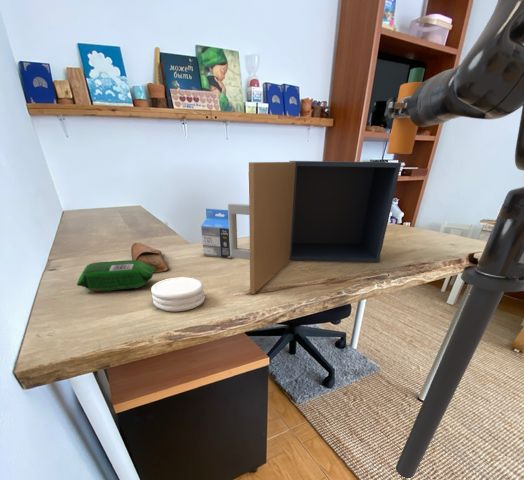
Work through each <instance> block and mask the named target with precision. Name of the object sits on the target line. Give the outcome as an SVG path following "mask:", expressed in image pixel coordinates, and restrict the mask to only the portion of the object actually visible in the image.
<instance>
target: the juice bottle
mask: <svg viewBox="0 0 524 480" xmlns="http://www.w3.org/2000/svg"><path fill="white" fill-rule="evenodd" d="M425 70H426V69H425V68H424V67H414V68H411V69H410V71H409V76H408V80H407V82H406V83H405V82H404V83H403V84H401V85H400V86H399V91H398V95H397V96H398V97H397V99H398V102H399V101H401V99H402V98H404V97H409V96H412V95H413V93H414V92H415V90H416V89H417V88H418V86H419V85H421V84H422V83H423V82H424V81H423V79H424V74H425ZM398 112H399V109H398ZM405 114H406V113H405ZM418 129H419V126H417V125H415V124H414V123H413V122H412V120H411V118H398V116H397V117H394V118H393V120H392V126H391V131H390V136H389V139H388V140H389V141H388V145H387V149H386V150H387V151H386V154H389V155H390V154H391V155H412V153H413V150H414V149H413V148H414V146H415V141H416V137H417V131H418Z"/></svg>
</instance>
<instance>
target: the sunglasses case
mask: <svg viewBox="0 0 524 480" xmlns="http://www.w3.org/2000/svg"><path fill="white" fill-rule="evenodd" d="M130 253H131V260H137V261H142V262H144V263H146V264H148V265H150V266H154V267H155V268H156V269H158V270H154V271H153V272H152V274H157V273H162V272H166V271H169V268H168V267H169V266H168V265H167V263H166V262H165V260H164V257H163V255H162V251H161V250H159V249H156V248H154V247H150V246H148V245H146V244H143V243H140V242H133V243H132V245H131V248H130Z"/></svg>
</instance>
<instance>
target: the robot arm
mask: <svg viewBox="0 0 524 480" xmlns="http://www.w3.org/2000/svg"><path fill="white" fill-rule="evenodd" d="M422 82H423V83H422V84H421V85H419V86H418V88H417V89H416V90H415V92H414V93H413V95H412V96H409V97H404V98H402V99H401V101H399V102H398V97H396V96H392V97H390V98H389V99H388V100H387V101H386V104H385V105H386V106H385V110H384V115H383V117H385V118H388V119H394V117H397V116H398V118H411V120H412V122H413V123H414V124H415V125H417V126H418V128H427V127H431V126H436V125H441V124H444V123H447V122H449V121H451V120H455V119H458V118H469V119H476V120H477V119H478V120H488V121H489V120H498V119H502V118H504V117H507V116H509V115H511V114H513V113H514V112H517V110H519V109H520V108H521V107H522V108H521V114H520V119H519V126H518V132H517V136H516V137H517V138H516V145H515V149H514V152H515V153H514V164H515V167H516V169H517V170H519V171H524V0H497V2H496V5H495V6H494V10H493V12H492V14H491V16H490V18H489V19H488V21H487V23H486V25H485V27H484V28H483V30H482V32H481V34H480V35H479V37H478V38H477V40H475V42H474V44H473V45H472V47H471V48H470V49H469V51H468V52H467V54H466V55H465V57H464V58H463V59H462V61H461V63H460V64H459V65H456V66H455V67H452V68H450V69H446V70H443V71H442V72H439V73H437V74H435V75H433V76H432V77H429V78H428V79H426V80H424V81H422ZM398 109H399V112H398ZM405 113H406V114H405ZM495 219H496V220H495V222H494V224H493V227H492V229H491V232H490V234H489V237H488V238H487V241H486V243H485V246H484V248H483V251H482V253H481V255H480V258H479V261H478V262H477V264H476V265H477V267H476V269H475V271H476V272H477V273H478V274H481V275H484V276H487V277H491V278H497V279H505V280H512V279H514V278H516V277H519V278H518V280H519V281H521V280H524V277H523V276H524V186H521V187H516V188H513V189H511V190H509V191H508V192H507V194H506V196H505V198H504V201H503V202H502V205H501V208H500V210H499V212H498V215H497V217H496V218H495Z"/></svg>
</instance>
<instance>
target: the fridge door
mask: <svg viewBox="0 0 524 480" xmlns="http://www.w3.org/2000/svg"><path fill="white" fill-rule="evenodd" d="M295 165H296V162H289V161H251V162H250V161H249V162H248V203H246V204H245V203H231V202H230V203H227V210H228V221H229V242H230V257H232V258H234V259H242V260H243V259H244V260H249V293H250V294H253V295H255V294H256V293H257V292H258V291H260V289H261V288H262V287H264V286H265V285H266V284H267V283H268V282H269V281H270V280H271V279H272V278H273V277H275V275H276V274H277V273H278V272H279V271H281V270H282V269H283V268H284V267H285V266H286V265H287V264H288V263H289V262H291V261H290V245H291V229H292V213H293V197H294V181H295ZM237 215H244V216H248V218H249V219H248V220H249V221H248V222H249V223H248V224H249V230H248V231H249V248H241V247H238V225H237V224H238V222H237V221H238V220H237Z"/></svg>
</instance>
